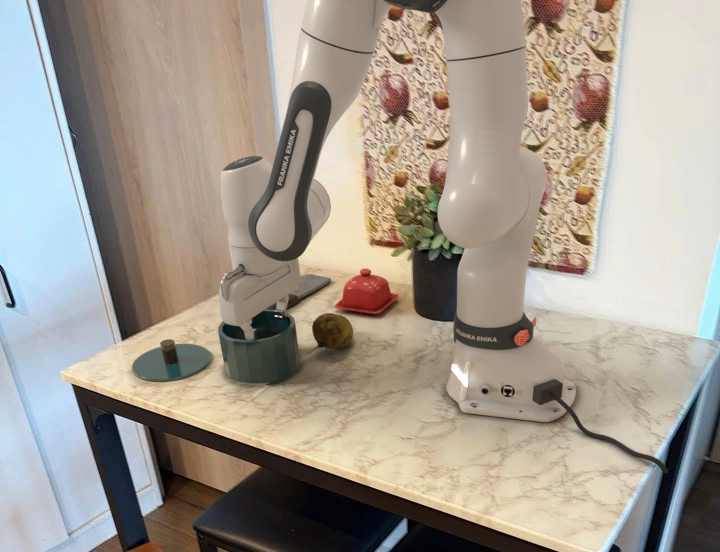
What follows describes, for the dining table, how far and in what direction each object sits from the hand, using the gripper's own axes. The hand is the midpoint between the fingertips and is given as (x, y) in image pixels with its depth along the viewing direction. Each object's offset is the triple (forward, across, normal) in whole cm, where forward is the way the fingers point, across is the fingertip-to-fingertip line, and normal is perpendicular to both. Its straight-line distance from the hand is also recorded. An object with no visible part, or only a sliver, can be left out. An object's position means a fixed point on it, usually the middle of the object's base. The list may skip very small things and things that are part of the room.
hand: (266, 328), depth 141 cm
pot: (+9, 0, +2) cm, 9 cm away
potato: (+9, +14, -6) cm, 17 cm away
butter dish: (+9, +34, -2) cm, 35 cm away
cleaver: (+9, +30, +18) cm, 36 cm away
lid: (+8, -6, +20) cm, 22 cm away
